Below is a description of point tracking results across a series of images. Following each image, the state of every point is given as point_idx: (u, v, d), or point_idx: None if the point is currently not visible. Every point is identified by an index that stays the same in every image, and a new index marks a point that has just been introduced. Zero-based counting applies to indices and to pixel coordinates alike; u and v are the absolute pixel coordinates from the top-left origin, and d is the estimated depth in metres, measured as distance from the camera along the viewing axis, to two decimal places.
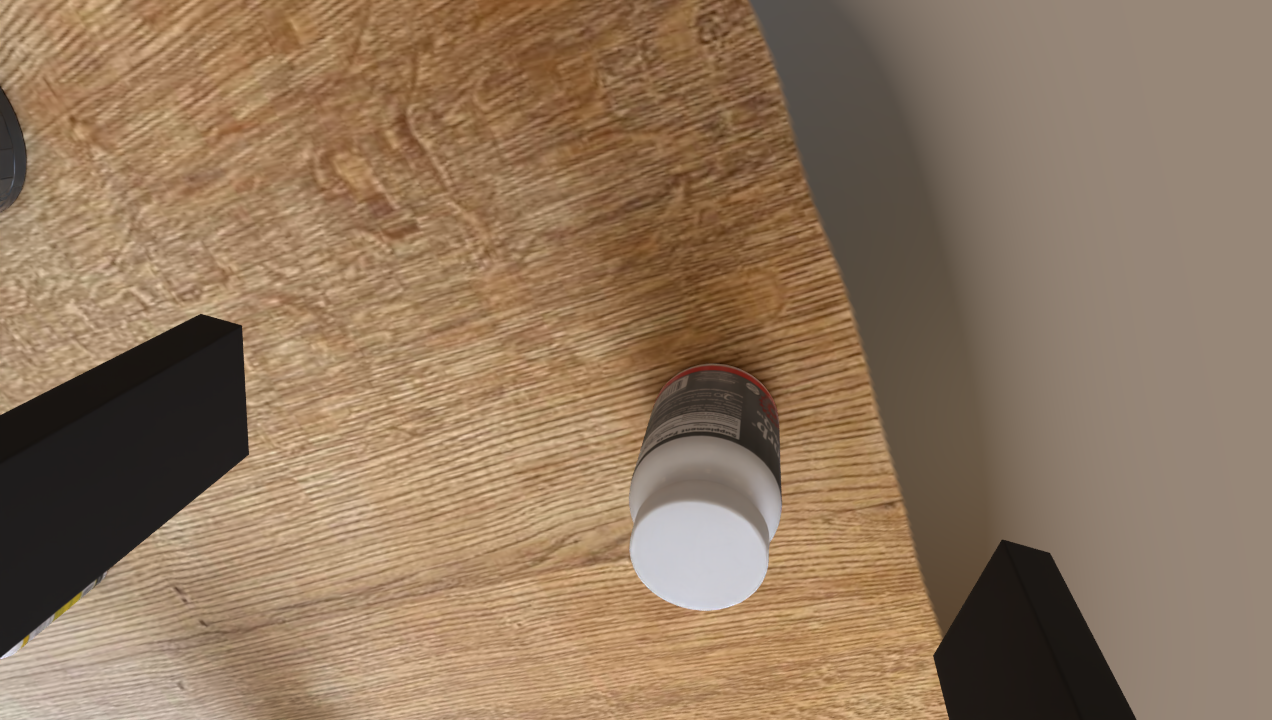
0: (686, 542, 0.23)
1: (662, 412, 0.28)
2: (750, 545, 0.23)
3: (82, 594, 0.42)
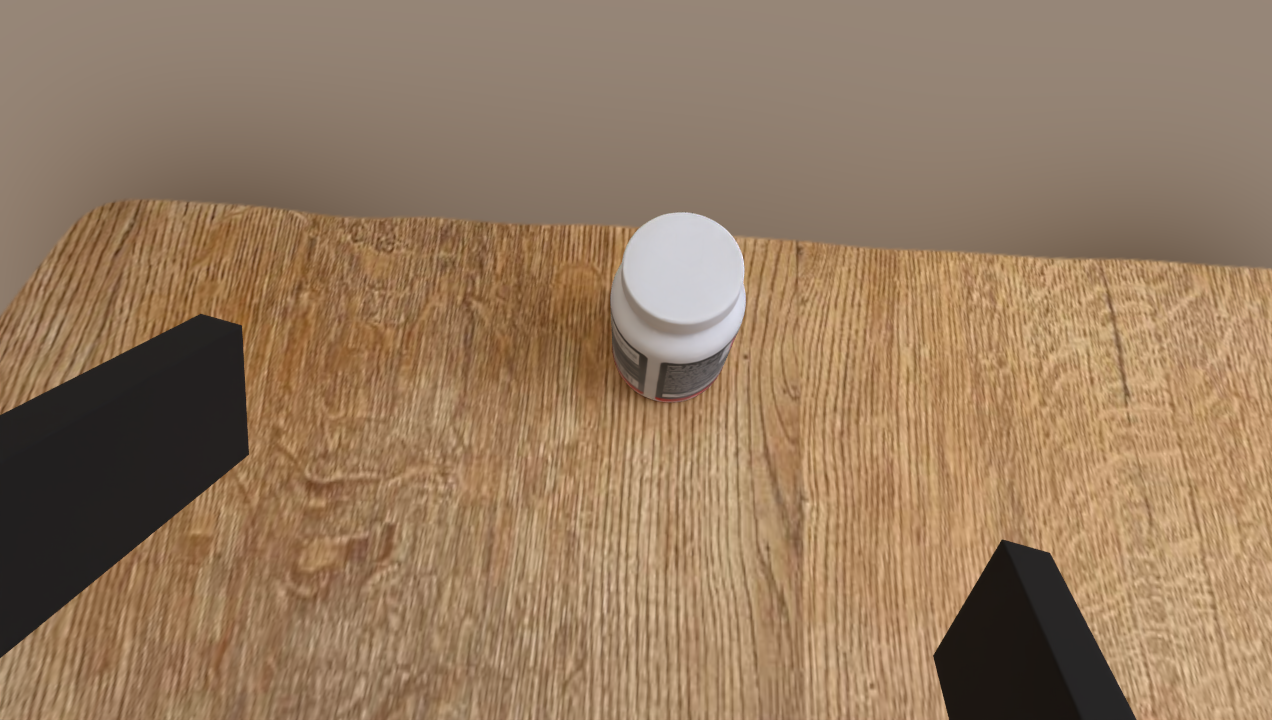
0: (664, 267, 0.27)
1: (615, 344, 0.32)
2: (683, 221, 0.27)
3: None
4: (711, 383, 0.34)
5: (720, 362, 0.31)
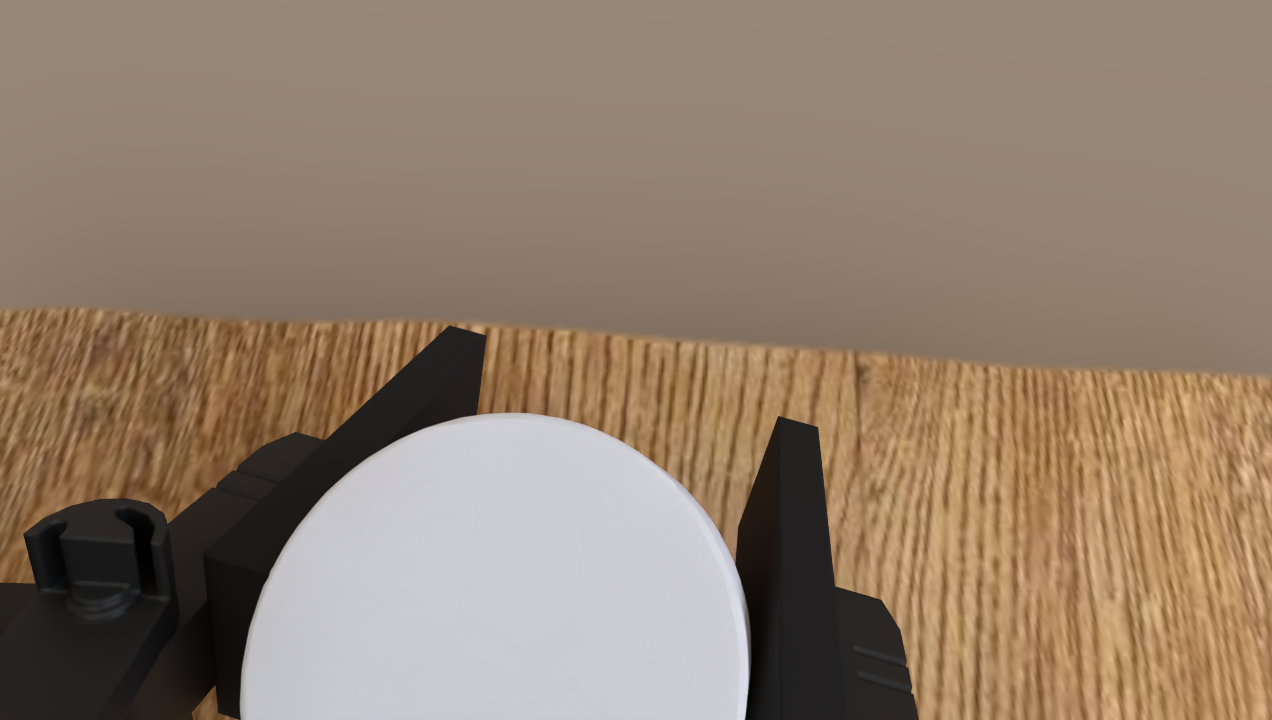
0: (417, 666, 0.06)
1: None
2: (508, 454, 0.07)
3: None
4: None
5: None
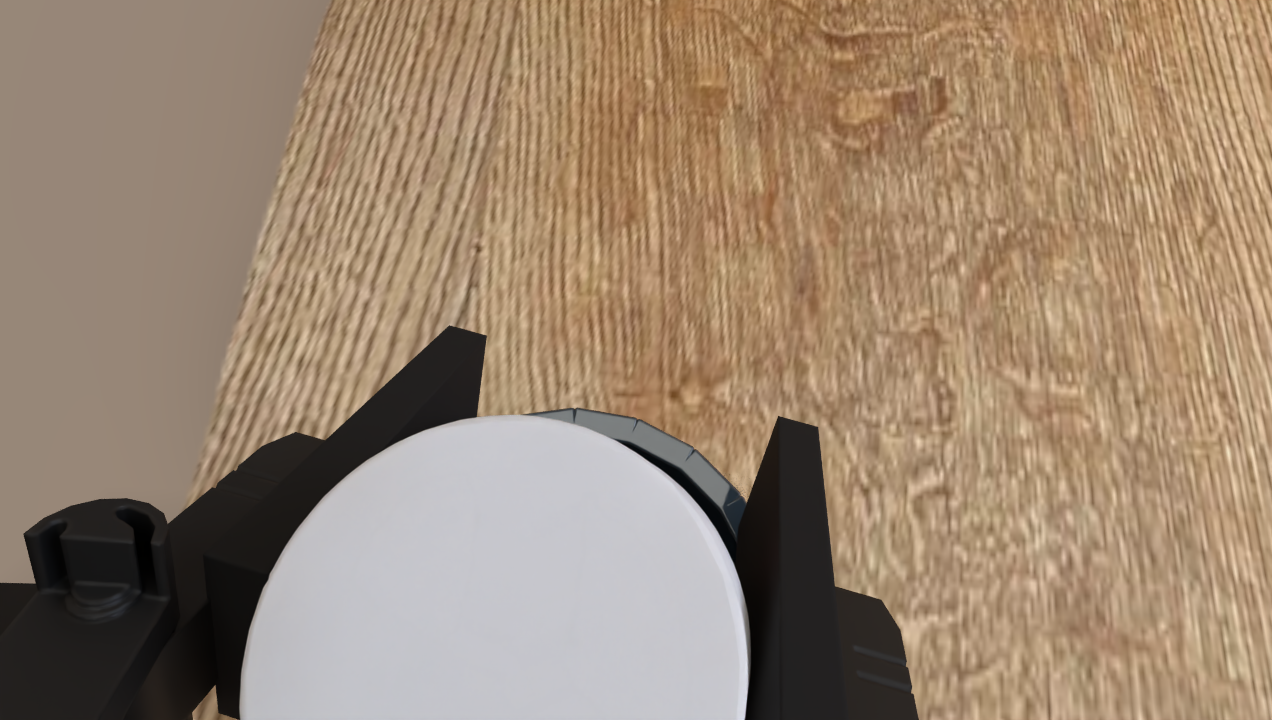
0: (416, 669, 0.06)
1: None
2: (507, 457, 0.07)
3: None
4: None
5: None
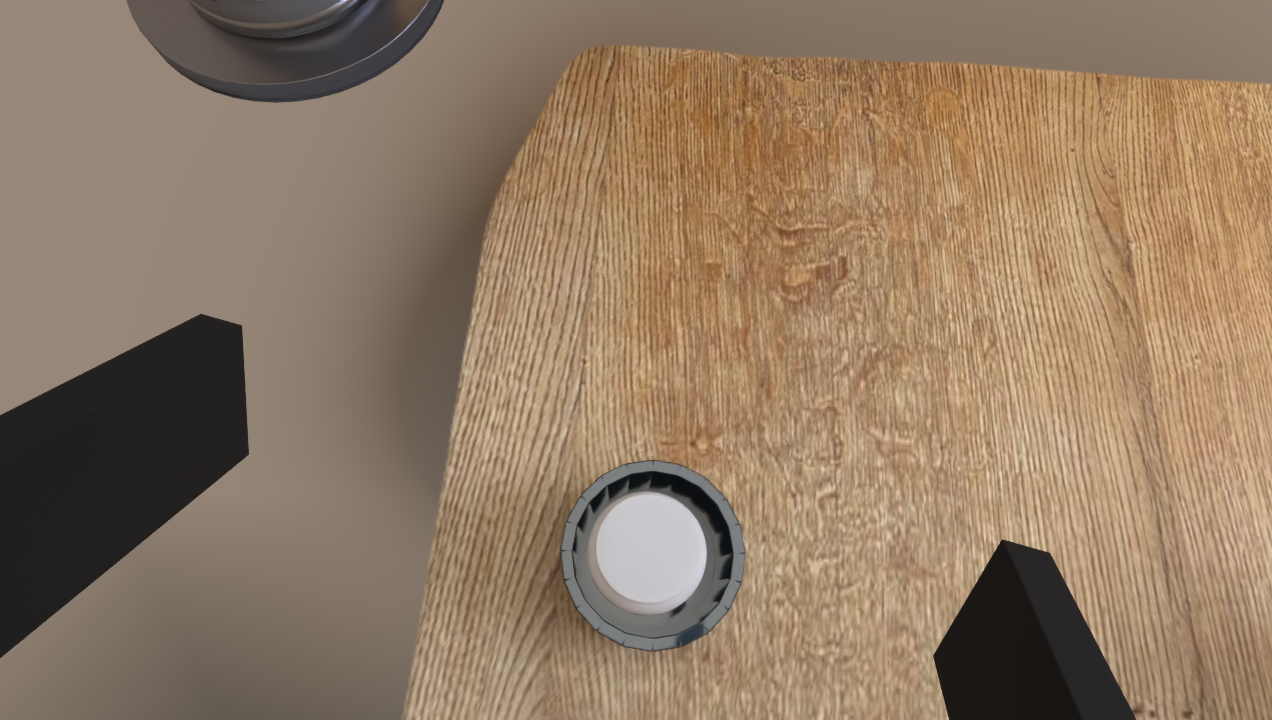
0: (632, 549, 0.30)
1: None
2: (648, 503, 0.31)
3: None
4: None
5: None
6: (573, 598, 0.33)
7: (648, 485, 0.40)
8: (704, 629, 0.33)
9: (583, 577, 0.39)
